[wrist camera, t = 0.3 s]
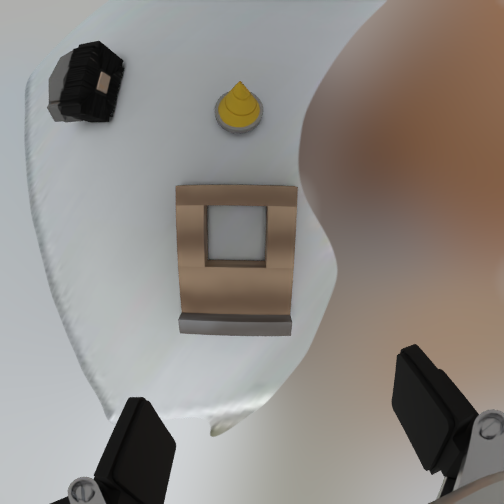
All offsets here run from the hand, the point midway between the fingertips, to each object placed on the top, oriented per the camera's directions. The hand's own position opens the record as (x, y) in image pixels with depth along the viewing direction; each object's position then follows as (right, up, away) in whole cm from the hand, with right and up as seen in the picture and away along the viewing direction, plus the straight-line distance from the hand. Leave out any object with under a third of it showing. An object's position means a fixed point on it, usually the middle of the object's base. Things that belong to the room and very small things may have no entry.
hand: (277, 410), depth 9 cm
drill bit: (-3, +22, +23) cm, 32 cm away
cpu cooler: (-21, +28, +21) cm, 41 cm away
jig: (-3, +5, +28) cm, 28 cm away
